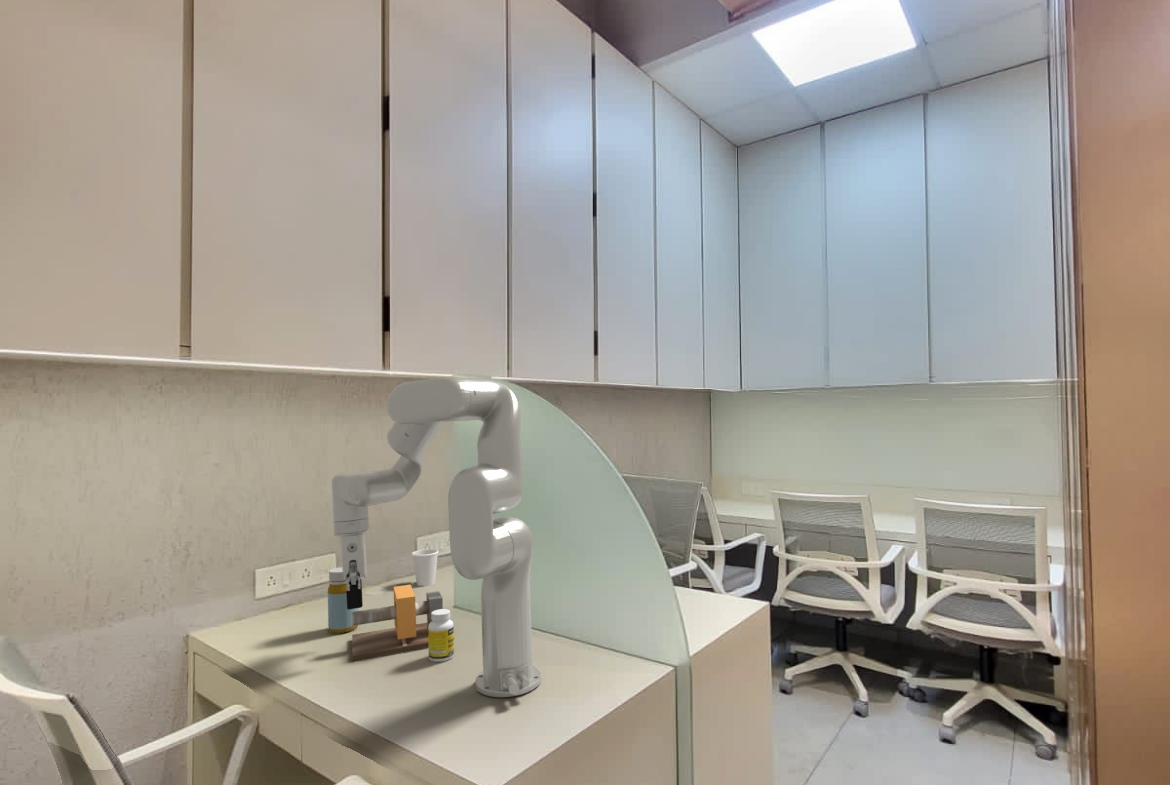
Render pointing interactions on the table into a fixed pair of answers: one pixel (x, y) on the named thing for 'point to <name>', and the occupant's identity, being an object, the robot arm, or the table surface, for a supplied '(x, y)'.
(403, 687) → the table surface
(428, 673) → the table surface
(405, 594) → the collar
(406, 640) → the pipe stand
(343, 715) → the table surface
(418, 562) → the dixie cup
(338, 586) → the bottle
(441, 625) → the supplement bottle
